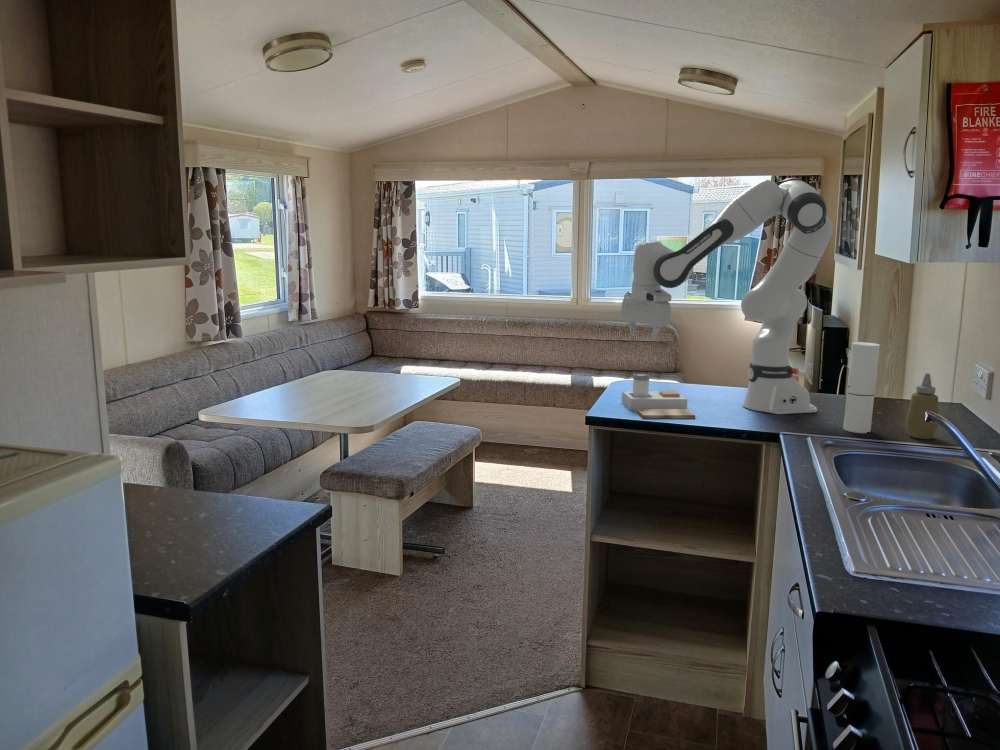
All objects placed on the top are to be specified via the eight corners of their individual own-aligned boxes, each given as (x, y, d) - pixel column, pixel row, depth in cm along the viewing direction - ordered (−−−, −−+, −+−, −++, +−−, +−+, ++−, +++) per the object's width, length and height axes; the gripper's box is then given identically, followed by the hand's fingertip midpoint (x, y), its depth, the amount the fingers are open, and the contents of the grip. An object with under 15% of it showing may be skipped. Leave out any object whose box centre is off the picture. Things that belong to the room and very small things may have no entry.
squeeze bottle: (922, 442, 210) (930, 377, 207) (897, 434, 218) (904, 372, 214) (943, 439, 213) (951, 375, 210) (917, 432, 221) (924, 370, 217)
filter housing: (675, 401, 255) (675, 391, 254) (686, 410, 243) (687, 399, 243) (621, 401, 254) (622, 391, 253) (630, 410, 242) (631, 399, 241)
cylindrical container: (865, 427, 225) (874, 342, 221) (874, 433, 218) (883, 346, 214) (839, 426, 226) (848, 341, 221) (848, 432, 219) (857, 345, 214)
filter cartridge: (645, 404, 251) (647, 373, 249) (649, 407, 246) (651, 376, 244) (630, 404, 250) (631, 373, 249) (634, 407, 245) (635, 376, 244)
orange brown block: (674, 402, 251) (674, 390, 251) (678, 406, 247) (679, 393, 246) (659, 402, 251) (659, 390, 250) (663, 406, 246) (664, 393, 245)
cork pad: (686, 412, 240) (686, 409, 240) (695, 418, 232) (695, 415, 232) (636, 412, 239) (636, 409, 239) (642, 418, 231) (643, 415, 231)
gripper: (617, 291, 249) (614, 333, 251) (659, 296, 231) (656, 342, 234) (632, 290, 252) (630, 332, 254) (675, 296, 234) (672, 341, 237)
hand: (643, 337), depth 244 cm, fingers open, 8 cm apart
